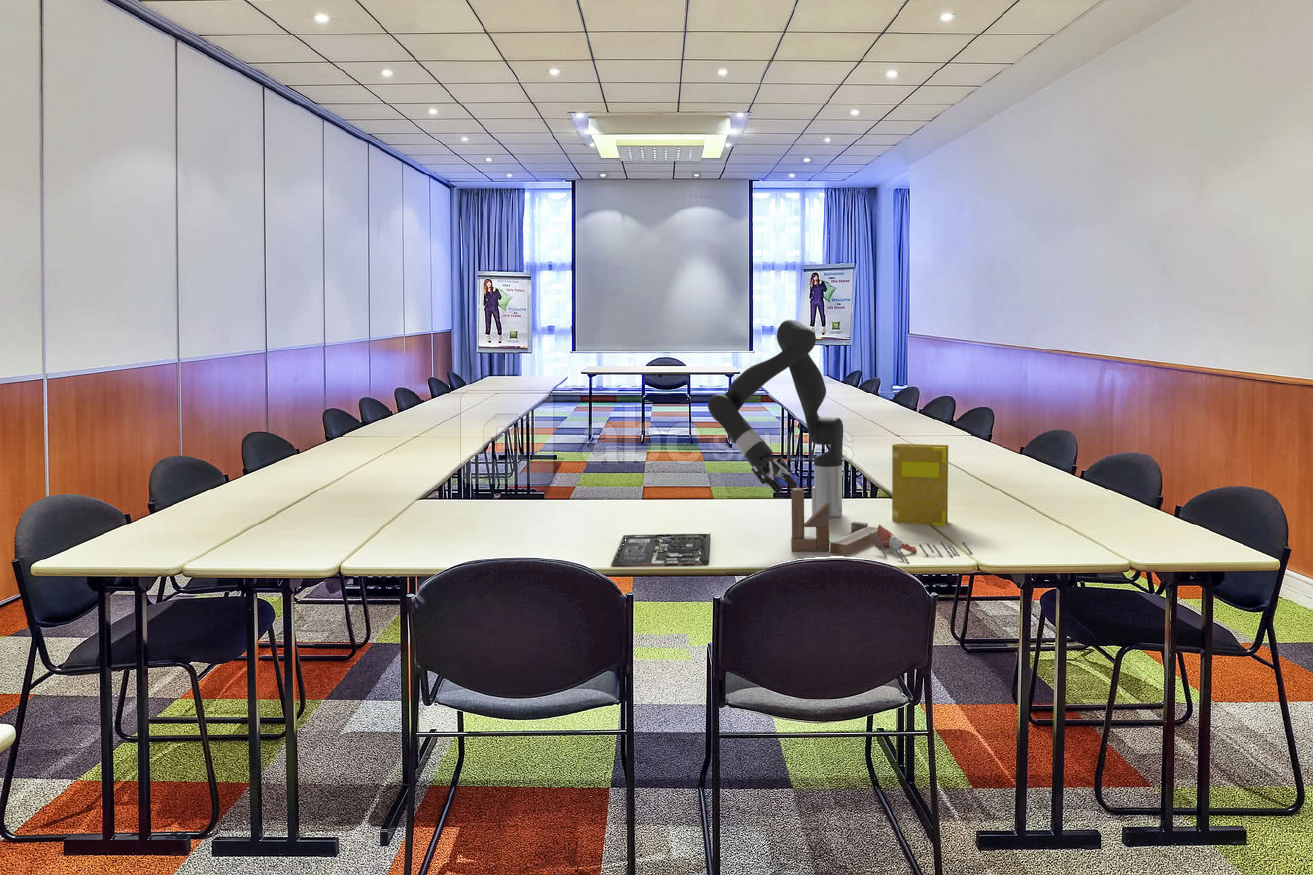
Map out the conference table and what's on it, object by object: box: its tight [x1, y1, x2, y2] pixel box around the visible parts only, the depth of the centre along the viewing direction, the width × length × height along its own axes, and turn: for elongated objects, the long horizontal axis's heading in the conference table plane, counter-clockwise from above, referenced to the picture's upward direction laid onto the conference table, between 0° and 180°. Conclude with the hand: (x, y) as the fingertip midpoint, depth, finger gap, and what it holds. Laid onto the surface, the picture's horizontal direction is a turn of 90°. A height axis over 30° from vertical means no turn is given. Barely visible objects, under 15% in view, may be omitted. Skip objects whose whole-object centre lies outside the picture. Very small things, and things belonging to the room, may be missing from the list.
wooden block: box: [790, 487, 830, 552], centre depth 269 cm, size 4×11×18 cm, turn 83°
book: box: [891, 443, 949, 527], centre depth 300 cm, size 17×7×25 cm, turn 65°
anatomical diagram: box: [869, 524, 974, 565], centre depth 264 cm, size 21×9×25 cm
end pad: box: [814, 533, 846, 544], centre depth 281 cm, size 12×8×1 cm, turn 52°
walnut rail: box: [829, 521, 878, 556], centre depth 275 cm, size 10×24×4 cm, turn 142°
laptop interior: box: [610, 532, 711, 567], centre depth 274 cm, size 35×28×2 cm
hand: (787, 489), depth 272 cm, fingers open, 8 cm apart
